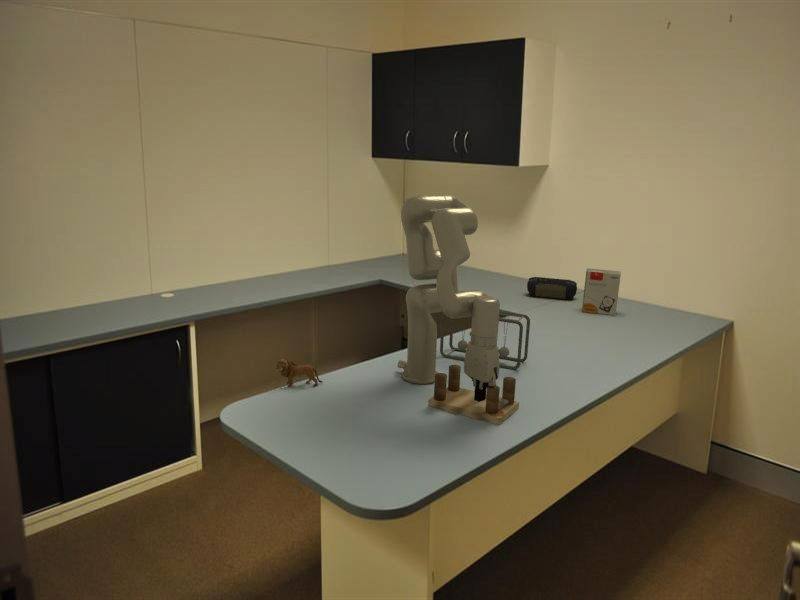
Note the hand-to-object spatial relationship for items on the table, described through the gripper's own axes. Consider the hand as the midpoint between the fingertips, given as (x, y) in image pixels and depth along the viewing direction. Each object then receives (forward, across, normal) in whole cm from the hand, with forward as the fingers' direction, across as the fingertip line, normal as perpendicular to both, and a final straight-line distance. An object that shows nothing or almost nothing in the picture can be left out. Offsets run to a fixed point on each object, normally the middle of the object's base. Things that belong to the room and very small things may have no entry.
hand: (479, 399), depth 188 cm
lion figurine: (+5, -48, -32) cm, 58 cm away
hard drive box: (+5, -50, +131) cm, 140 cm away
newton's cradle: (+5, -33, +35) cm, 48 cm away
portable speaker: (+5, -82, +135) cm, 158 cm away
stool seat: (+4, -4, +2) cm, 6 cm away
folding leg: (+1, +4, +4) cm, 6 cm away
